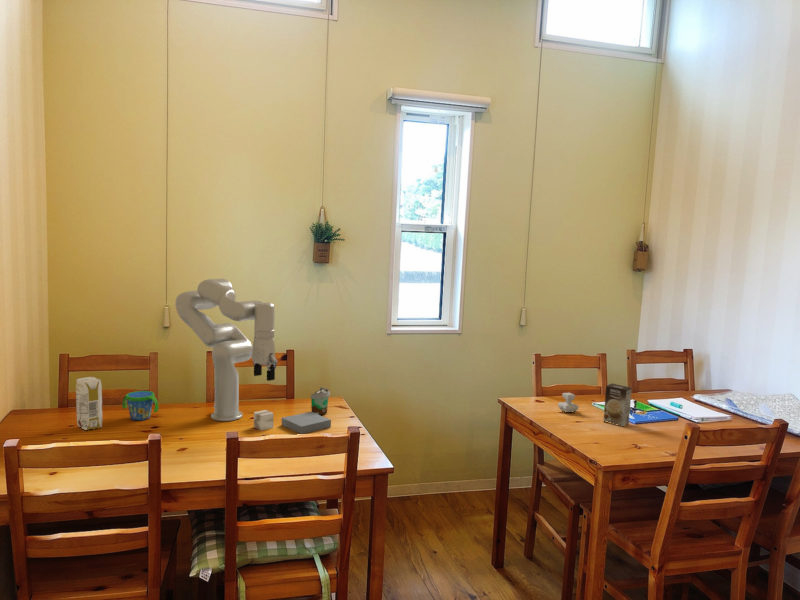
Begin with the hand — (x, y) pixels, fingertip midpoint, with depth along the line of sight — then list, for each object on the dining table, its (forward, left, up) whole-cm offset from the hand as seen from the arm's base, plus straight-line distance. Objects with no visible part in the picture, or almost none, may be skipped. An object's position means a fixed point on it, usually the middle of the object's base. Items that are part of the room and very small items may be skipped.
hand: (264, 377), depth 233 cm
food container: (-1, +29, -20) cm, 35 cm away
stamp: (+64, +118, -20) cm, 136 cm away
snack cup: (-40, -33, -20) cm, 56 cm away
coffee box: (+86, +120, -20) cm, 149 cm away
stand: (+9, +14, -20) cm, 26 cm away
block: (0, 0, -20) cm, 20 cm away
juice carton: (-40, -52, -20) cm, 69 cm away
